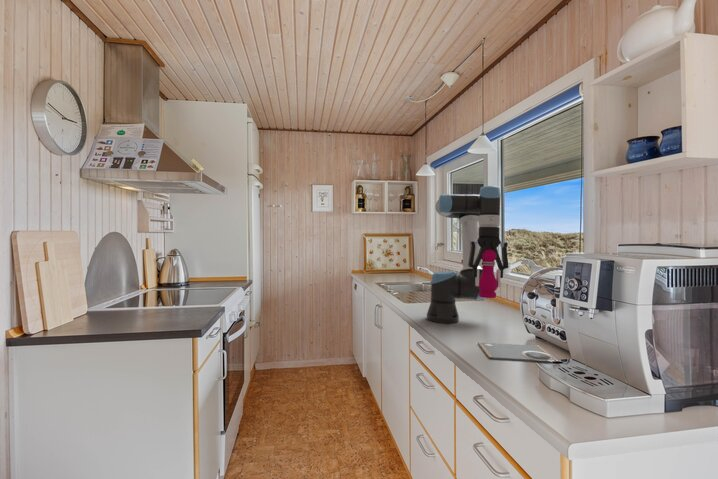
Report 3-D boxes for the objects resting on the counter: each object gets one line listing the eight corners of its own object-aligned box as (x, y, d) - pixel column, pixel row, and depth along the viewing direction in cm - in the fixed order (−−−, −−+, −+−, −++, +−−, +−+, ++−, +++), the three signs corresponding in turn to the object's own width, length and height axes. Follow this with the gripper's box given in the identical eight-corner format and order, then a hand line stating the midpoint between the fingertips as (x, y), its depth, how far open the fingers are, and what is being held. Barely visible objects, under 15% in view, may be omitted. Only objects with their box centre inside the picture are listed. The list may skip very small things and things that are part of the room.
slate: (477, 344, 135) (477, 342, 135) (538, 347, 133) (538, 345, 133) (490, 360, 118) (490, 357, 118) (559, 363, 116) (559, 361, 116)
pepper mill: (494, 295, 141) (495, 245, 141) (499, 298, 134) (501, 245, 134) (475, 295, 142) (476, 244, 142) (479, 297, 134) (481, 244, 134)
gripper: (464, 225, 135) (462, 286, 135) (519, 226, 133) (517, 288, 133) (460, 226, 142) (459, 284, 142) (512, 227, 140) (511, 286, 140)
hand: (487, 286), depth 138 cm, fingers closed on pepper mill, 7 cm apart
